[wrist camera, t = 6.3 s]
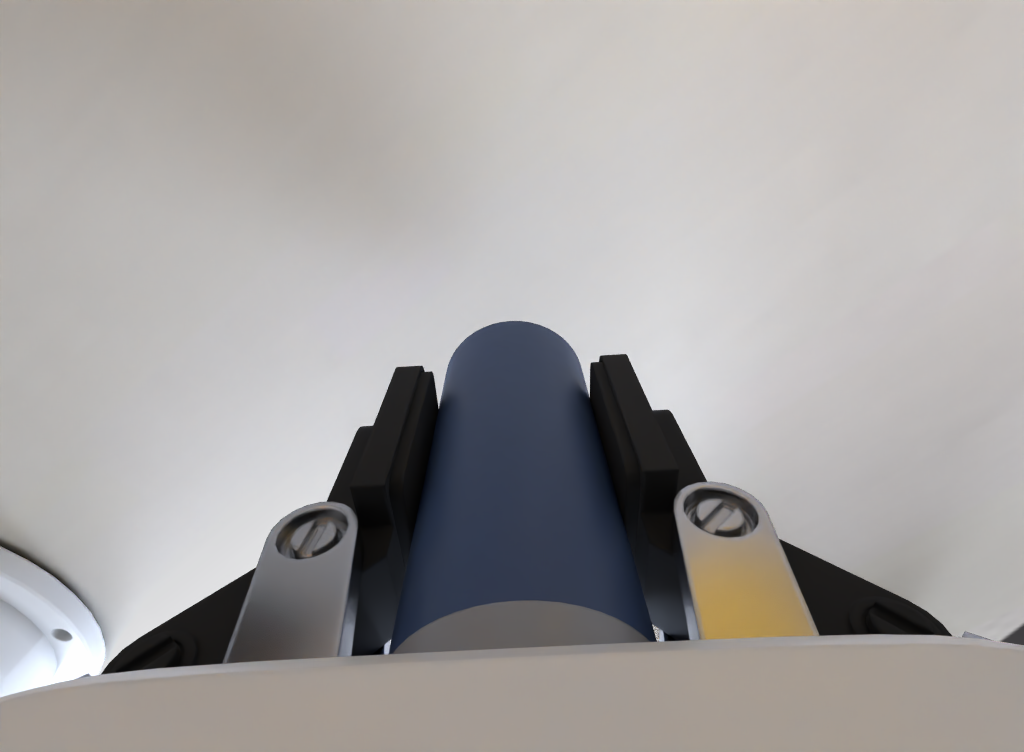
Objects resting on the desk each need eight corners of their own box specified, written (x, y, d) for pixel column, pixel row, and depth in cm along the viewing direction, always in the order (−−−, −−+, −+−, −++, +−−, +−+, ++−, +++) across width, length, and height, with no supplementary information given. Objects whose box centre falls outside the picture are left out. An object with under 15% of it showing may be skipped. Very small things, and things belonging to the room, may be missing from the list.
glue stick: (452, 444, 14) (360, 1058, 5) (435, 322, 12) (259, 919, 3) (584, 437, 14) (721, 1045, 5) (584, 313, 12) (795, 899, 3)
